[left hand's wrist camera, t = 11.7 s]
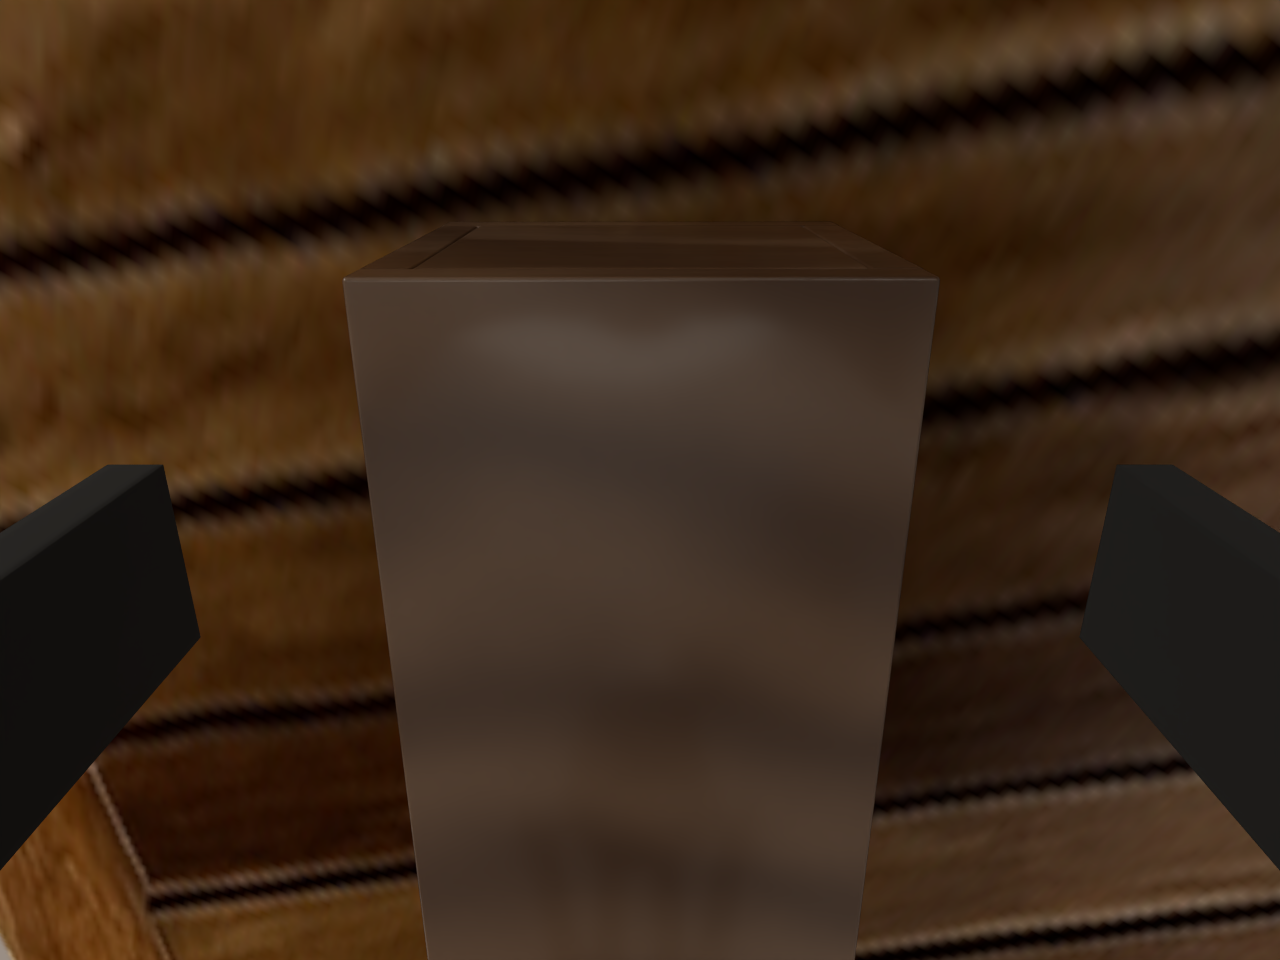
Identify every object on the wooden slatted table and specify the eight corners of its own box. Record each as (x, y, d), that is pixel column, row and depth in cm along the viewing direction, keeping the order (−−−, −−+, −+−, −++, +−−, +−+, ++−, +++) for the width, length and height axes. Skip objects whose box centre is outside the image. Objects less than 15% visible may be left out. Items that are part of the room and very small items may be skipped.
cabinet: (789, 776, 34) (847, 1029, 24) (492, 776, 34) (435, 1029, 24) (832, 221, 26) (941, 276, 17) (448, 222, 26) (340, 276, 17)
